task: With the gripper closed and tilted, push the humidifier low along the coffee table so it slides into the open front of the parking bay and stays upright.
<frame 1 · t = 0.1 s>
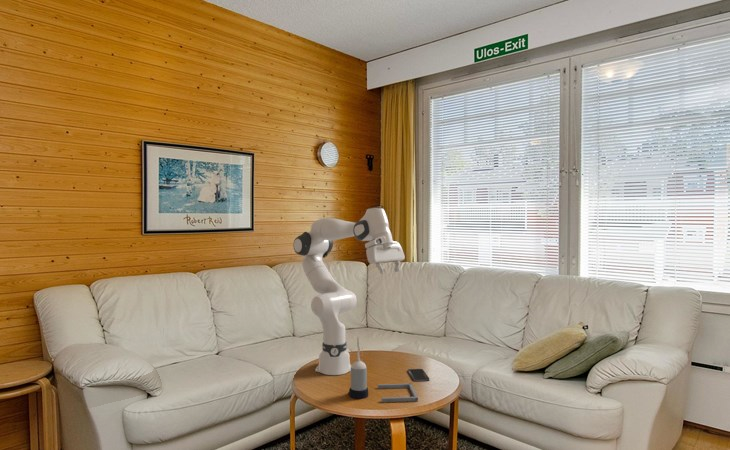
hand: (390, 272, 197), 52 cm above the table, tool tilted 20°, fingers open, 8 cm apart
parking bay: (395, 394, 195), on the table
phone: (418, 376, 218), on the table
humidifier: (358, 395, 194), on the table
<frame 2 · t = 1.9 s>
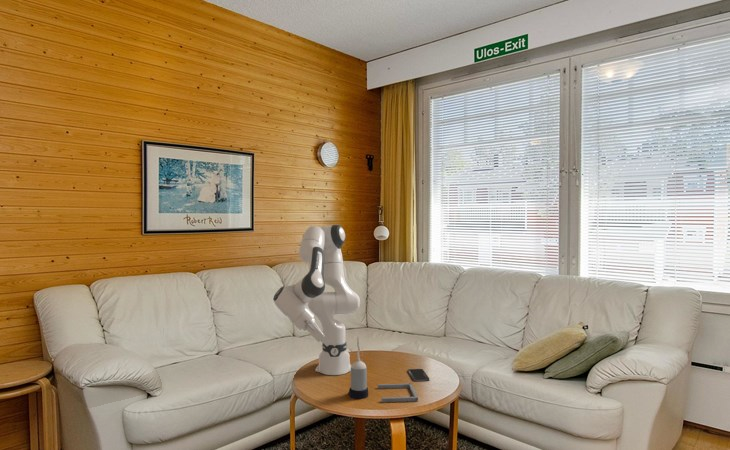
hand: (326, 342, 191), 23 cm above the table, tool tilted 45°, fingers open, 8 cm apart
nothing on the table moved.
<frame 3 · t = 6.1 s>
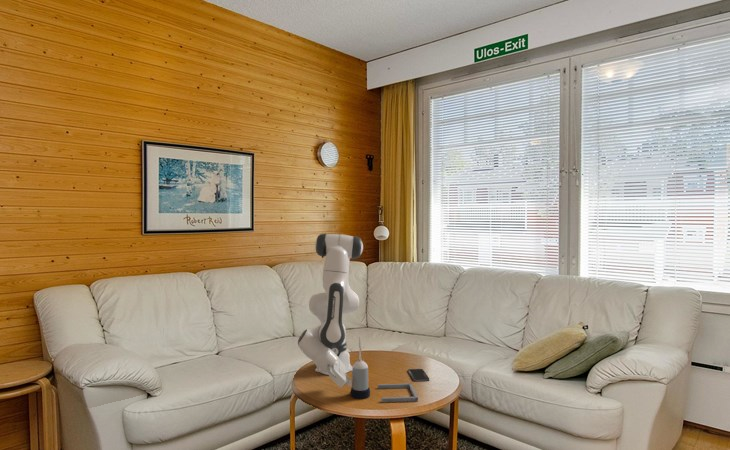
hand: (351, 384, 193), 5 cm above the table, tool tilted 45°, fingers closed, pressing on humidifier
humidifier: (360, 395, 194), on the table, touching gripper
everything else where it was.
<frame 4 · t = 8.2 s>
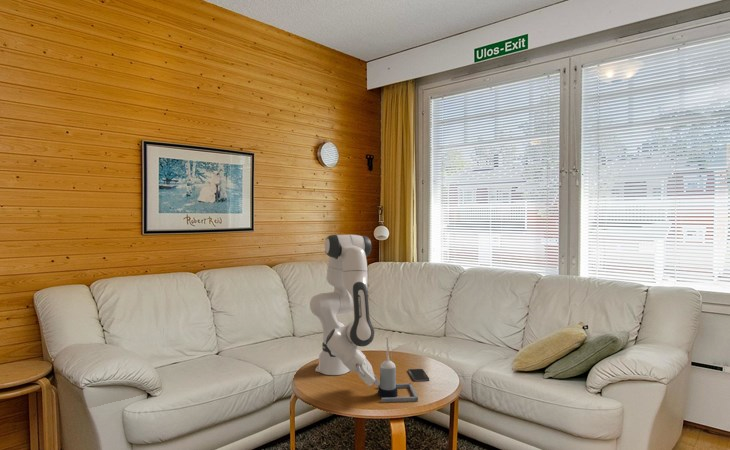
hand: (378, 383, 194), 5 cm above the table, tool tilted 45°, fingers closed, pressing on humidifier
humidifier: (387, 395, 194), on the table, touching gripper
everything else where it was.
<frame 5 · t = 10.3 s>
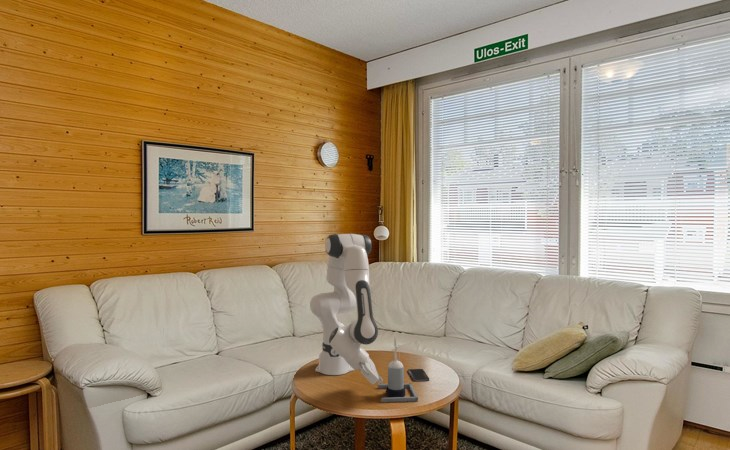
hand: (381, 381, 195), 5 cm above the table, tool tilted 45°, fingers closed
humidifier: (395, 395, 195), on the table
everything else where it was.
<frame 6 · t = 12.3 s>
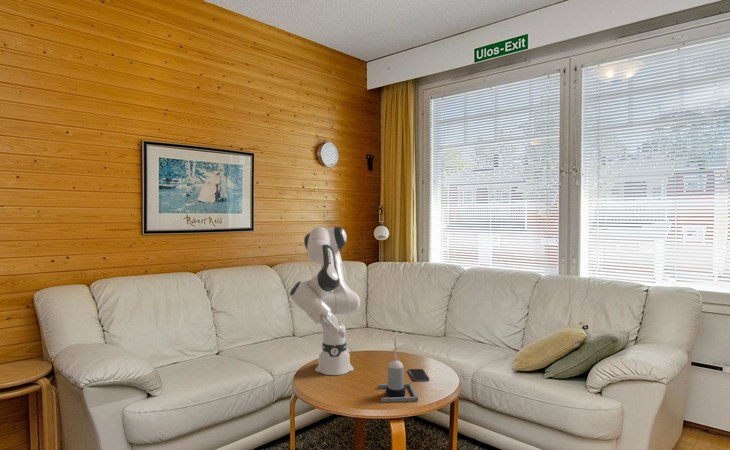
hand: (343, 336, 194), 25 cm above the table, tool tilted 45°, fingers closed
nothing on the table moved.
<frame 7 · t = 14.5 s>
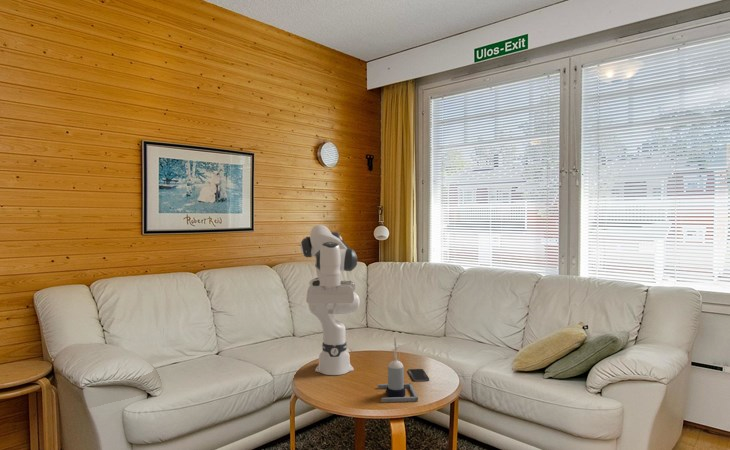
hand: (330, 313, 192), 35 cm above the table, tool pointing down, fingers closed
nothing on the table moved.
at the end: humidifier inside the target area on the parking bay (0.3 cm from its centre), point 0.0 cm above the parking bay's base; humidifier tilted 0°; humidifier moved 15.9 cm from its start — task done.
